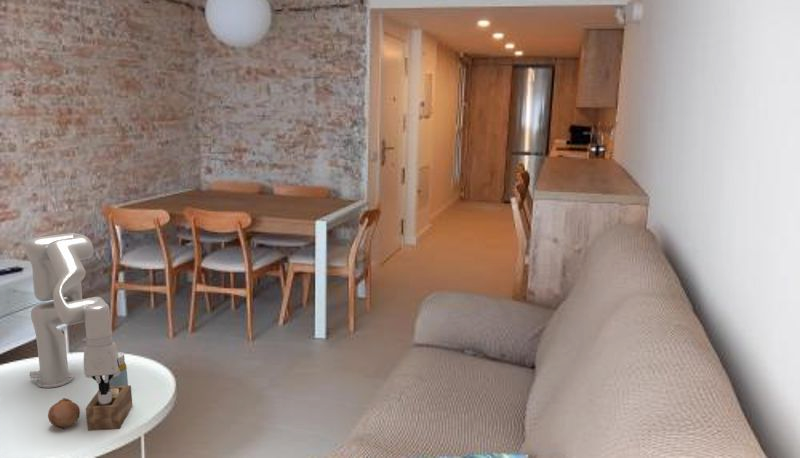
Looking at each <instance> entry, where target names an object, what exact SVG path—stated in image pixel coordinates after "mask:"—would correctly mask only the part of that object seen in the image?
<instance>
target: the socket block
mask: <svg viewBox="0 0 800 458" xmlns="http://www.w3.org/2000/svg"><path fill="white" fill-rule="evenodd" d="M111 388H118V389H119V394H113V395H112V405H102V406H99V399H98V393H99V392H100V391H99V389H98V391H96V393H95V394H94V396H93V397H92V399H91V400H90V401H89V403H88V404H87V406H86V407H85V417H86V426H87V431H88V432H89V431H91V432H92V431H104V430H106V431H107V430H120V429H121V427H122V425H123V424H124V423H125V420H126V419H127V416H128V415H129V414H130V411H132V409H133V407H134V406H133V397H132V394H133V393H132V385H129V384H128V386H110V389H111Z"/></svg>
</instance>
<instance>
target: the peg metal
mask: <svg viewBox="0 0 800 458" xmlns="http://www.w3.org/2000/svg"><path fill="white" fill-rule="evenodd" d="M98 399H99V406H102V405H112V395H111V391H110V390H109V391H108V392H107V394H103V395H101V392H99V393H98Z"/></svg>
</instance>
